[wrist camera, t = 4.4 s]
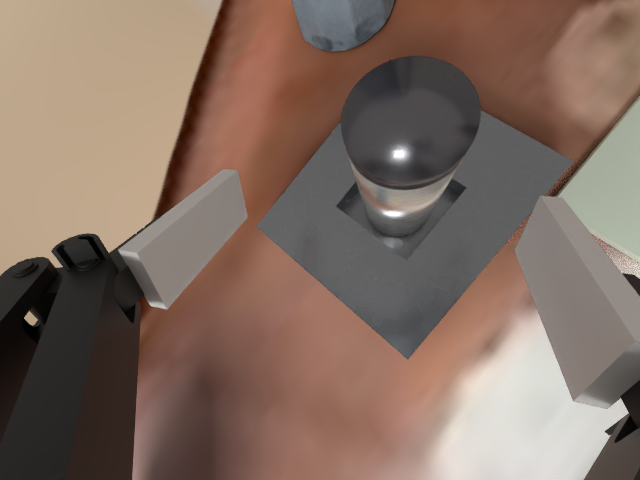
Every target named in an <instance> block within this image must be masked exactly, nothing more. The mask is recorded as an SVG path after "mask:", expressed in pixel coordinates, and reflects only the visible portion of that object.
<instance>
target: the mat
mask: <svg viewBox="0 0 640 480" xmlns="http://www.w3.org/2000/svg"><path fill="white" fill-rule="evenodd" d="M555 197H563V198H564V200H565V201H566V202H567V204H568V205H569V206H570V207H571V209H572V210H573V211H574V213H575V214H576V215H577V216H578V218H579V219H580V220H581V222H582V223H583V224H584V225H585V227H586V228H587V229H588V231H589V232H590V233H591V234H593V235H594V236H596V237H598V238H599V239H601V240H602V241H604V242H606V243H607V244H609V245H611V246H612V247H614V248H616V249H617V250H619V251H620V252H622V253H624V254H625V255H627V256H629V257H630V258H632V259H634V260H635V261H637V262H638V263H640V96H639V97H638V98H637V99H636V100H635V102H634V103H633V104H632V105H631V106H630V107H629V109H628V110H627V111H626V112H625V113H624V115H623V116H622V117H621V118H620V119H619V121H618V122H617V123H616V124H615V125H614V127H613V128H612V129H611V130H610V131H609V133H608V134H607V135H606V136H605V137H604V139H603V140H602V141H601V142H600V143H599V145H598V146H597V147H596V148H595V149H594V151H593V152H592V153H591V154H590V155H589V156H588V158H587V159H586V160H585V161H584V162H583V164H582V165H581V166H580V167H579V168H578V170H577V171H576V172H575V173H574V174H573V176H572V177H571V178H570V179H569V180H568V182H567V183H566V184H565V185H564V186H563V188H562V189H561V190H560V191H559V192H558V194H557V195H556V196H555Z"/></svg>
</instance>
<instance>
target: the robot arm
mask: <svg viewBox="0 0 640 480" xmlns="http://www.w3.org/2000/svg"><path fill="white" fill-rule="evenodd" d="M247 218H248V216H247V211H246V207H245V202H244V198H243V193H242V189H241V184H240V179H239V175H238V170H229V169H223V170H222V171H221V172H219V173H218V174H217V175H215V176H214V177H213V178H211V179H210V180H209V181H208V182H206V183H205V184H204V185H202V186H201V187H200V188H198V189H197V190H196V191H194V192H193V193H192V194H190V195H189V196H188V197H187V198H185V199H184V200H183V201H181V202H180V203H179V204H177V205H176V206H175V207H173V208H172V209H171V210H169V211H168V212H167V213H165V214H164V215H163V216H161V217H159V218H156V219H154V220H153V221H151V222H150V223H149V224H147V225H146V226H145V228H142V229H141V230H140V231H138V232H137V234H134V235H133V236H132V237H130V238H129V239H128V240H126V241H125V242H124V243H122V244H121V245H120V246H118V247H117V248H116V249H114V250H113V251H112V252H110V253H108V251H107V250H106V248H105V247H104V245H103V243H102V242H101V240H100V238H99V237H98V236H97V235H95V234H81V235H77V236H74V237H71V238H69V239H67V240H64V241H62V242H61V243H59V244H58V245H56V246H55V247H54V248H53V250H52V251H51V252H52V253H53V254H54V255H55V256H56V258H57V259H58V261H59V262H60V263H61V265H62V266H63V267H61V268H55V267H54V266H53V264H52V263H51V262H50V261H49V259H47V258H45V257H36V258H32V259H26V260H24V261H21V262H18V263H17V264H16V265H14V266H12V267H10V268H9V269H8V270H6V271H5V272H4V273H3V274H2V275H1V276H0V480H132V470H133V451H134V432H135V413H136V395H137V376H138V357H139V338H140V320H141V306H140V304H139V302H138V301H139V300H140V299H141V298H142V297H143V296H145V297H146V299H147V301H148V302H149V304H150V306H154V307H158V308H163V309H168V308H169V307H170V306H171V305H172V303H173V302H174V301H175V300H176V299H177V298H178V297H179V295H180V294H181V293H182V292H183V291H184V290H185V289H186V287H187V286H188V285H189V284H190V283H191V282H192V281H193V279H194V278H195V277H196V276H197V275H198V274H199V273H200V271H201V270H202V269H203V268H204V267H205V266H206V265H207V263H208V262H209V261H210V260H211V259H212V258H213V257H214V255H215V254H216V253H217V252H218V251H219V250H220V249H221V247H222V246H223V245H224V244H225V243H226V242H227V241H228V239H229V238H230V237H231V236H232V235H233V234H234V233H235V231H236V230H237V229H238V228H239V227H240V226H241V225H242V223H243V222H244V221H245V220H246V219H247ZM514 251H515V254H516V256H517V259H518V262H519V264H520V267H521V269H522V272H523V274H524V277H525V279H526V282H527V285H528V287H529V290H530V292H531V295H532V297H533V300H534V302H535V305H536V307H537V310H538V313H539V315H540V318H541V320H542V323H543V325H544V328H545V330H546V333H547V336H548V338H549V341H550V343H551V346H552V348H553V351H554V353H555V356H556V359H557V361H558V364H559V366H560V369H561V371H562V374H563V376H564V379H565V381H566V384H567V387H568V389H569V392H570V394H571V397H572V399H573V401H574V402H578V403H583V404H587V405H592V406H596V407H600V408H605V409H608V408H609V407H610V406H611V405H613V404H614V403H615V402H616V401H618V400H619V399H620V398H621V399H622V401H623V403H624V404H625V406H626V408H627V410H628V412H629V414H627V415H626V416H625V417H623V418H622V419H621V420H619V421H618V422H617V423H615V424H614V425H613V426H611V427H610V428H609V429H607V430H606V431H605V432H606V433H607V434H608V435H611V434H612V435H611V436H610V438H609V440H608V441H607V443H606V445H605V446H604V448H603V449H602V451H601V453H600V454H599V456H598V458H597V459H596V461H595V462H594V464H593V466H592V467H591V469H590V471H589V472H588V474H587V475H586V477H585V479H584V480H640V279H639V278H637V277H636V276H635V275H631V274H623V273H621V272H620V270H619V269H618V268H617V267H616V265H615V264H614V263H613V261H612V260H611V259H610V258H609V256H608V255H607V254H606V252H605V251H604V250H603V249H602V247H601V246H600V245H599V243H598V242H597V241H596V240H595V238H594V237H593V236H592V234H591V233H590V232H589V231H588V229H587V228H586V227H585V225H584V224H583V223H582V222H581V220H580V219H579V218H578V216H577V215H576V214H575V213H574V211H573V210H572V209H571V207H570V206H569V205H568V204H567V202H566V201H565V200H564V198H563V197H551V196H540V197H539V199H538V201H537V203H536V205H535V207H534V209H533V212H532V214H531V216H530V218H529V220H528V222H527V225H526V227H525V229H524V231H523V233H522V235H521V238H520V240H519V242H518V244H517V246H516V248H515V250H514ZM28 311H30V312H31V313H32V314H33V315H34V316H35V317H36V318H37V319H38V321H37V322H36V324H35V325H33V326H32V325H30V324H29V323H28V322H27V321H26V320H25V319H24V317H25V315H26V314H27V313H28Z"/></svg>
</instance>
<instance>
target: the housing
mask: <svg viewBox="0 0 640 480" xmlns="http://www.w3.org/2000/svg"><path fill="white" fill-rule="evenodd" d="M390 61H391V60H390ZM572 163H573V161H572V160H571V159H569V158H567V157H565V156H563V155H561V154H560V153H558V152H556V151H554V150H552V149H551V148H549V147H547V146H545V145H543V144H542V143H540V142H538V141H536V140H534V139H533V138H531V137H529V136H527V135H525V134H524V133H522V132H520V131H518V130H516V129H514V128H513V127H511V126H509V125H507V124H505V123H504V122H502V121H500V120H498V119H496V118H495V117H493V116H491V115H489V114H487V113H486V112H484V111H482V110H481V118H480V124H479V129H478V132H477V134H476V137H475V139H474V141H473V143H472V145H471V146H470V148H469V150H468V151H467V153H466V155H465V157H464V158H463V160H462V162H461V163H460V165H459V167H458V168H457V170H456V172H455V173H454V175H453V177H452V178H451V180H450V182H449V184H448V185H447V187H446V189H445V190H444V192H443V194H442V195H441V197H440V199H439V200H438V202H437V204H436V206H435V207H434V209H433V211H432V212H431V214H430V216H429V217H428V219H427V221H426V222H425V223H424V225H423V226H422V227H421V228H420V229H418V230H417V231H415V232H413V233H411V234H409V235H405V236H390V235H386V234H384V233H382V232H380V231H378V230H377V229H376V228H375V227H374V226H373V225H372V224H371V223H370V221H369V219H368V217H367V214H366V211H365V208H364V205H363V201H362V198H361V195H360V192H359V189H358V185H357V182H356V179H355V176H354V173H353V169H352V166H351V163H350V160H349V157H348V153H347V150H346V147H345V144H344V141H343V138H342V132H341V122H340V123H339V124H338V125H337V127H336V128H335V129H334V130H333V132H332V133H331V134H330V135H329V137H328V138H327V139H326V140H325V142H324V143H323V144H322V145H321V147H320V148H319V149H318V150H317V152H316V153H315V154H314V155H313V157H312V158H311V159H310V160H309V162H308V163H307V164H306V165H305V167H304V168H303V169H302V170H301V172H300V173H299V174H298V175H297V177H296V178H295V179H294V180H293V182H292V183H291V184H290V185H289V187H288V188H287V189H286V190H285V192H284V193H283V194H282V195H281V197H280V198H279V199H278V200H277V202H276V203H275V204H274V205H273V207H272V208H271V209H270V210H269V212H268V213H267V214H266V215H265V217H264V218H263V219H262V220H261V222H260V223H259V224H258V225H257V228H259V229H260V230H261V231H262V232H263V233H264V234H265V235H267V236H268V237H269V238H270V239H271V240H272V241H273V242H274V243H276V244H277V245H278V246H279V247H280V248H281V249H282V250H284V251H285V252H286V253H287V254H288V255H289V256H290V257H292V258H293V259H294V260H295V261H296V262H297V263H298V264H300V265H301V266H302V267H303V268H304V269H305V270H306V271H308V272H309V273H310V274H311V275H312V276H313V277H314V278H315V279H317V280H318V281H319V282H320V283H321V284H322V285H323V286H325V287H326V288H327V289H328V290H329V291H330V292H331V293H333V294H334V295H335V296H336V297H337V298H338V299H339V300H341V301H342V302H343V303H344V304H345V305H346V306H347V307H349V308H350V309H351V310H352V311H353V312H354V313H355V314H357V315H358V316H359V317H360V318H361V319H362V320H363V321H364V322H366V323H367V324H368V325H369V326H370V327H371V328H372V329H374V330H375V331H376V332H377V333H378V334H379V335H380V336H382V337H383V338H384V339H385V340H386V341H387V342H388V343H390V344H391V345H392V346H393V347H394V348H395V349H396V350H398V351H399V352H400V353H401V354H402V355H403V356H404V357H406V358H407V359H409V358H410V356H411V355H412V354H413V353H414V352H415V350H416V349H417V348H418V347H419V346H420V344H421V343H422V342H423V341H424V340H425V338H426V337H427V336H428V335H429V334H430V332H431V331H432V330H433V329H434V328H435V326H436V325H437V324H438V323H439V322H440V321H441V319H442V318H443V317H444V316H445V315H446V313H447V312H448V311H449V310H450V309H451V307H452V306H453V305H454V304H455V303H456V301H457V300H458V299H459V298H460V297H461V295H462V294H463V293H464V292H465V291H466V289H467V288H468V287H469V286H470V285H471V283H472V282H473V281H474V280H475V279H476V277H477V276H478V275H479V274H480V273H481V271H482V270H483V269H484V268H485V267H486V265H487V264H488V263H489V262H490V261H491V259H492V258H493V257H494V256H495V255H496V253H497V252H498V251H499V250H500V249H501V247H502V246H503V245H504V244H505V243H506V242H507V240H508V239H509V238H510V237H511V236H512V234H513V233H514V232H515V231H516V230H517V228H518V227H519V226H520V225H521V224H522V222H523V221H524V220H525V219H526V218H527V216H528V215H529V214H530V213H531V212H532V210H533V209H534V207H535V205H536V203H537V201H538V199H539V197H540V196H545V195H546V194H547V192H548V191H549V190H550V189H551V188H552V186H553V185H554V184H555V183H556V182H557V180H558V179H559V178H560V177H561V176H562V174H563V173H564V172H565V171H566V170H567V169H568V167H569V166H570V165H571V164H572Z"/></svg>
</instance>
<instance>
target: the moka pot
mask: <svg viewBox="0 0 640 480" xmlns="http://www.w3.org/2000/svg"><path fill="white" fill-rule="evenodd" d="M292 3H293V6H294V10H295V13H296V17H297V20H298V24H299V27H300V30H301V33H302V36H303V38H304V40H305V41H307V42H308V43H309V44H311V45H312V46H314V47H316V48H318V49H321V50H323V51H329V52H336V51H345V50H349V49H351V48H355V47H357V46H359V45H361V44H363V43H364V42H366V41H367V40H368V39H370V38H371V37H372V36H373V35H374V34H375V33H377V32H378V31H379V30H380V29H381V28H382V27H383V25H384V24H385V22H386V21H387V19H388V17H389V16H390V14H391V11H392V8H393V4H394V0H292Z"/></svg>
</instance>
